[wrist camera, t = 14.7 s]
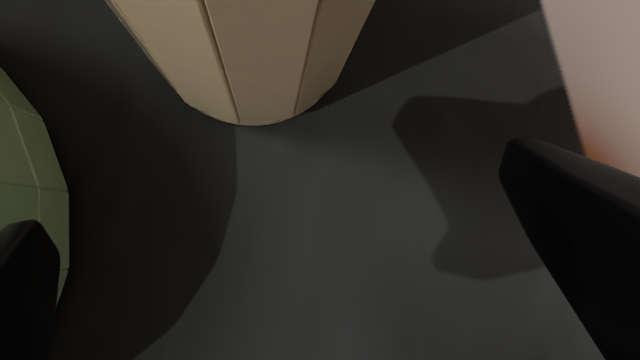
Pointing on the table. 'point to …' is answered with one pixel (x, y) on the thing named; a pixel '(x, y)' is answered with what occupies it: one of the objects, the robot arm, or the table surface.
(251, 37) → the beige cup
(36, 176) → the big bowl
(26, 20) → the table surface
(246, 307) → the table surface
